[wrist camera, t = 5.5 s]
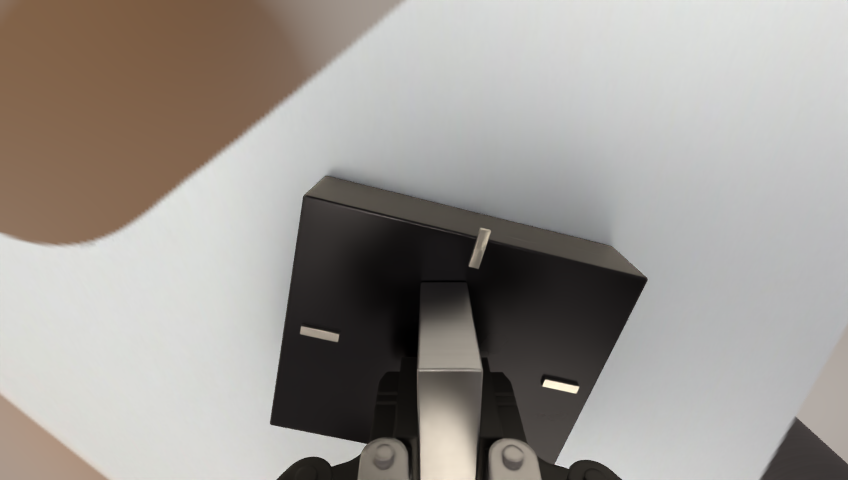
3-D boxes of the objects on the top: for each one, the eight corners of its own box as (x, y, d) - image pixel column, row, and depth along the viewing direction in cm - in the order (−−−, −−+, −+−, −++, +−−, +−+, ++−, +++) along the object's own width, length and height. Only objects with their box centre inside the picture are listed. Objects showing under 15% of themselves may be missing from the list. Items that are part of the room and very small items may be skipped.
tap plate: (616, 238, 17) (656, 272, 14) (528, 430, 20) (545, 489, 17) (326, 166, 16) (302, 185, 13) (291, 381, 19) (266, 435, 16)
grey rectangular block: (420, 281, 14) (416, 376, 9) (467, 281, 14) (484, 376, 9) (422, 425, 16) (419, 556, 12) (462, 425, 16) (474, 556, 12)
